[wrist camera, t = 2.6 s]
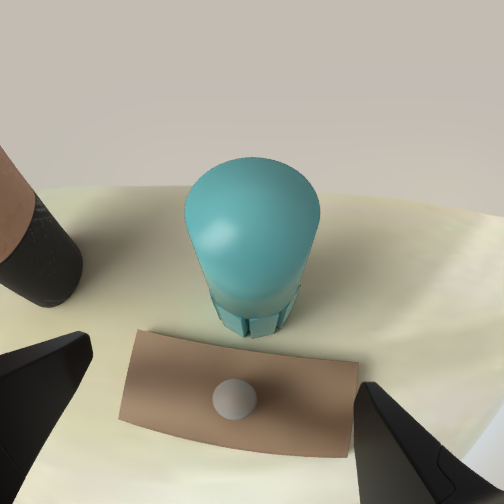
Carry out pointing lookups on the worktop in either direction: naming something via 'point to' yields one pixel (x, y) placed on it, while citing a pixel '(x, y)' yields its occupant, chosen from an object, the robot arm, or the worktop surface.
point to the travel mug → (33, 244)
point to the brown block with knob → (240, 397)
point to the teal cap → (252, 239)
